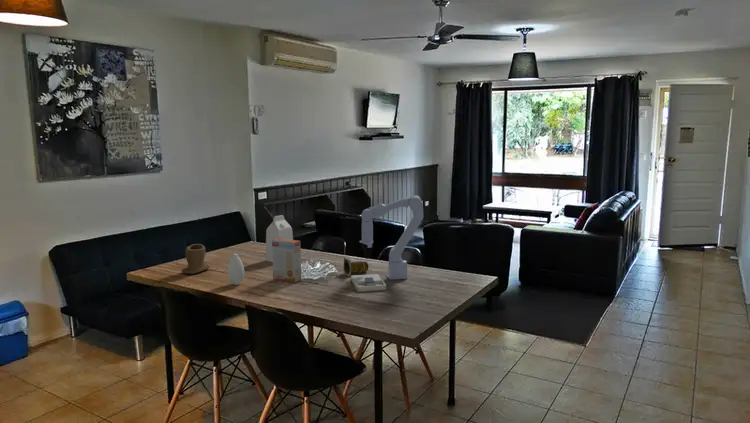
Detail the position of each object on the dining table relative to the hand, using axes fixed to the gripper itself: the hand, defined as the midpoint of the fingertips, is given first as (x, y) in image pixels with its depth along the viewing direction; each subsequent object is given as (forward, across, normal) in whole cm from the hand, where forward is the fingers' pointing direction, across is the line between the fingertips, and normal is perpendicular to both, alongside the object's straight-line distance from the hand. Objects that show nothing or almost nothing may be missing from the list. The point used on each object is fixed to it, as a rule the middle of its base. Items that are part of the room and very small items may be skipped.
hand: (367, 258), depth 279 cm
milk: (+10, -44, -44) cm, 63 cm away
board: (+10, +8, -2) cm, 13 cm away
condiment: (+6, -6, -10) cm, 13 cm away
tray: (+10, +19, -2) cm, 22 cm away
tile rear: (+8, +16, -2) cm, 18 cm away
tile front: (+10, +20, -2) cm, 22 cm away
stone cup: (+10, -27, -88) cm, 93 cm away
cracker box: (+10, -2, -41) cm, 42 cm away
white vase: (+10, +1, -66) cm, 67 cm away
